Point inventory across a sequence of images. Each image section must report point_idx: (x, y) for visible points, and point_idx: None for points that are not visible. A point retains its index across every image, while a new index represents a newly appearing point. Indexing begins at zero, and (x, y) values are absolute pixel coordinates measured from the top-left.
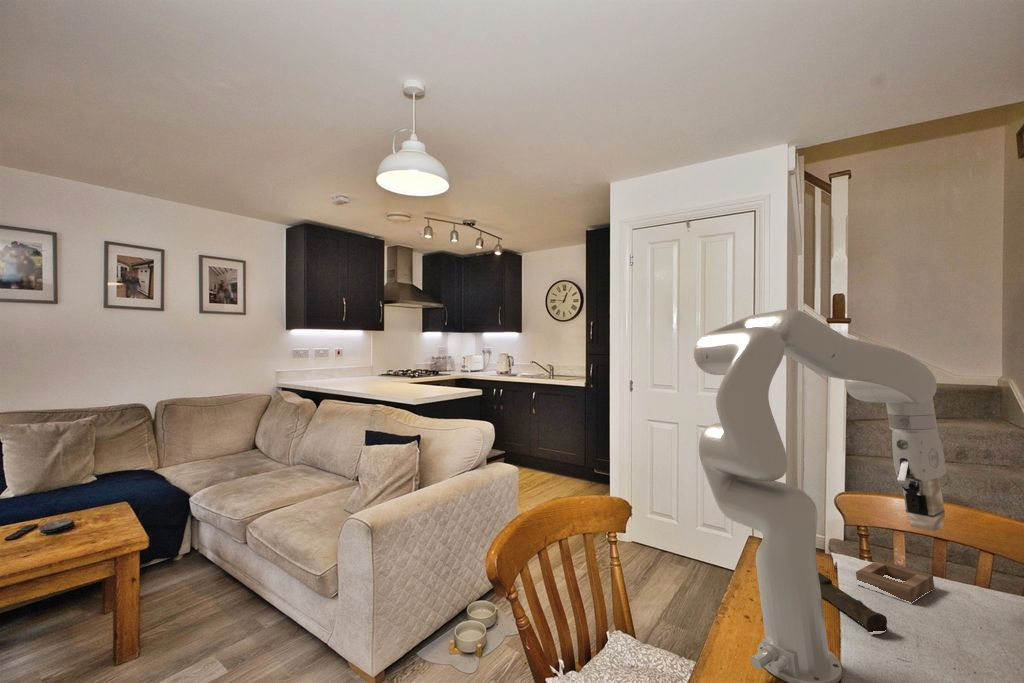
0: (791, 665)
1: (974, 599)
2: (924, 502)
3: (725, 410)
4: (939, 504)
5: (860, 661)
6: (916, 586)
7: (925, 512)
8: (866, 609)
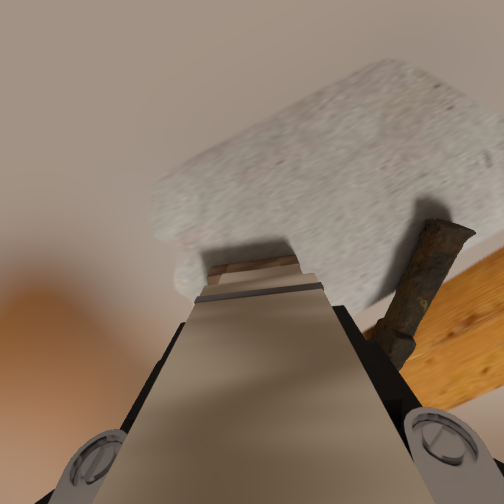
0: None
1: (191, 219)
2: (371, 357)
3: None
4: (229, 323)
5: None
6: (272, 266)
7: (348, 316)
8: (447, 251)
